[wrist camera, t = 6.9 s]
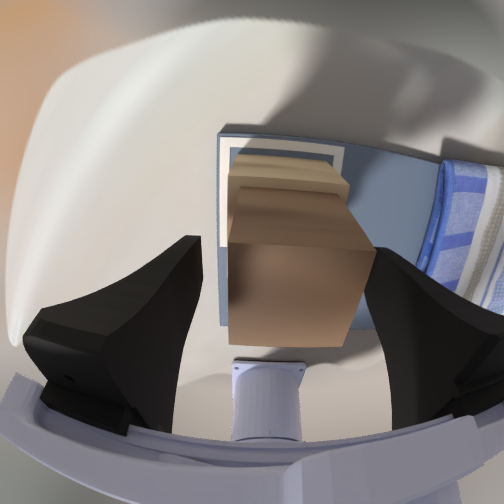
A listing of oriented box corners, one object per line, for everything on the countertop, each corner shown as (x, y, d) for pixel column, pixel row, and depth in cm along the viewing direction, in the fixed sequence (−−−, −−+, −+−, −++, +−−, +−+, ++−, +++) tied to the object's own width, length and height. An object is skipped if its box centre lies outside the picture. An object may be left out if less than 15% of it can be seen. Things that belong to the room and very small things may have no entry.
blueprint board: (384, 322, 24) (386, 328, 23) (221, 319, 24) (219, 326, 23) (438, 163, 16) (445, 166, 15) (219, 132, 16) (216, 134, 15)
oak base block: (314, 238, 19) (328, 282, 14) (235, 233, 19) (227, 277, 14) (326, 161, 16) (349, 185, 12) (237, 154, 16) (227, 175, 12)
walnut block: (321, 273, 14) (341, 346, 10) (238, 268, 14) (228, 344, 10) (337, 194, 12) (376, 251, 8) (240, 186, 12) (227, 242, 8)
